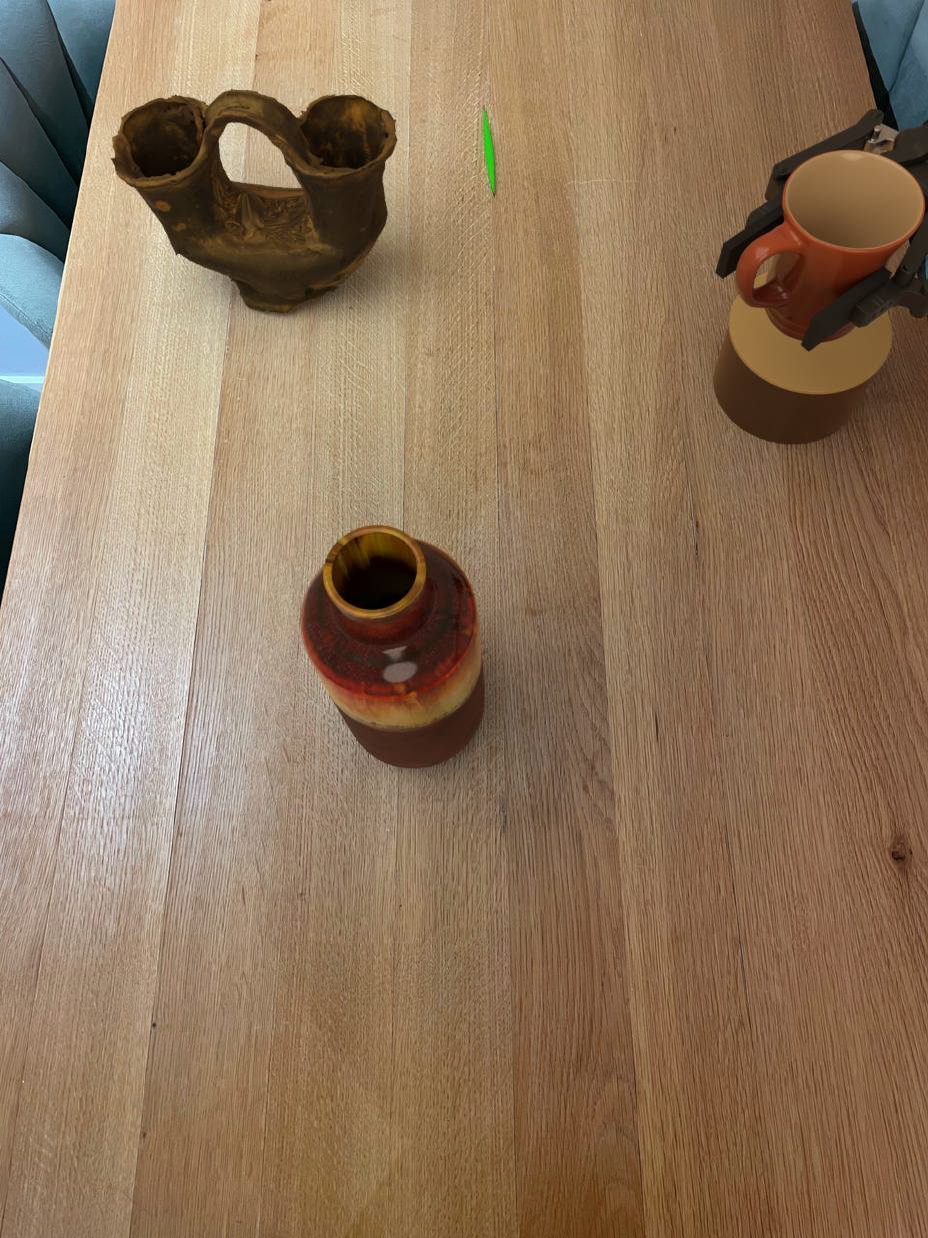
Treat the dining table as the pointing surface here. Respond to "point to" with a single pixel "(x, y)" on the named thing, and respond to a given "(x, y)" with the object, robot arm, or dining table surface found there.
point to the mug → (830, 236)
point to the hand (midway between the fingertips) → (766, 297)
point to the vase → (397, 645)
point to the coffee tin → (794, 375)
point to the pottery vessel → (264, 189)
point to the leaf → (489, 152)
